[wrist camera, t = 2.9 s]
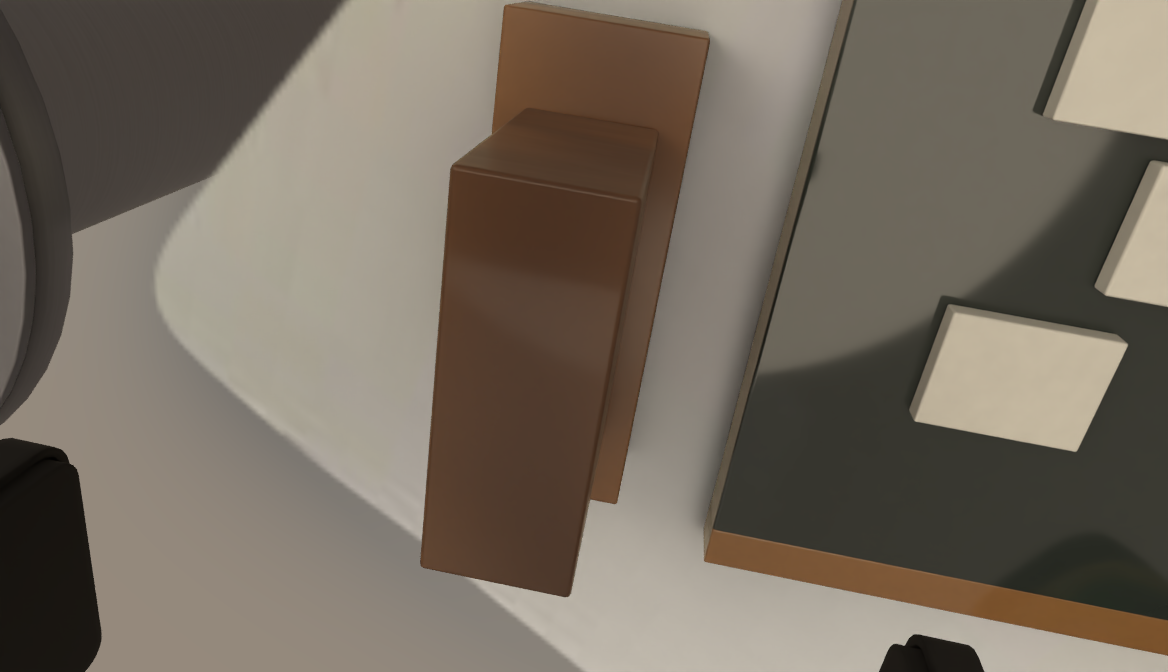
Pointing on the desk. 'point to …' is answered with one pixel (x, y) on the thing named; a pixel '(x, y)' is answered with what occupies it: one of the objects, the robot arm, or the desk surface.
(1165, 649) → the slate board
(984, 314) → the cream rectangular block
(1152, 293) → the beige block
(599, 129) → the brown stepped wooden block
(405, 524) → the desk surface
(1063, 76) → the cream square block
